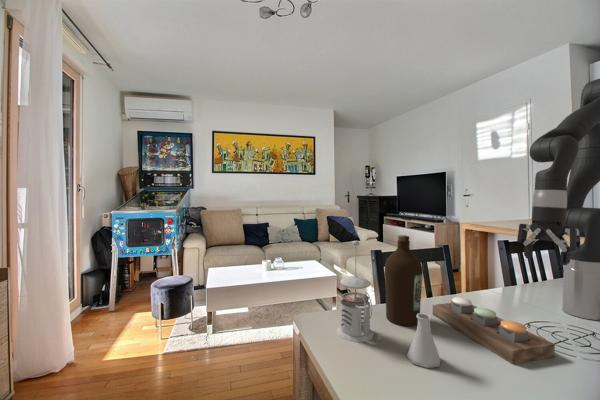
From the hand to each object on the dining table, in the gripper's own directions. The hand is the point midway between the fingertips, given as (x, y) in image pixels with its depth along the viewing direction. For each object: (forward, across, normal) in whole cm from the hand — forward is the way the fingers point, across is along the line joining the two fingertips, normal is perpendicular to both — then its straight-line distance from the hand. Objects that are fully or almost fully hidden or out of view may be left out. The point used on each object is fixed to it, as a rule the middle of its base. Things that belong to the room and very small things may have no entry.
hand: (545, 261), depth 82 cm
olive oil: (+20, +17, +36) cm, 45 cm away
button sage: (+17, +2, +21) cm, 27 cm away
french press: (+21, +15, +54) cm, 60 cm away
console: (+19, +2, +21) cm, 29 cm away
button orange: (+17, -6, +23) cm, 29 cm away
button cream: (+17, +10, +20) cm, 28 cm away
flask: (+21, -1, +46) cm, 51 cm away
